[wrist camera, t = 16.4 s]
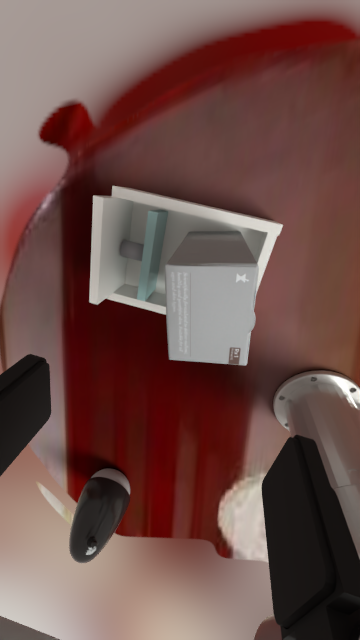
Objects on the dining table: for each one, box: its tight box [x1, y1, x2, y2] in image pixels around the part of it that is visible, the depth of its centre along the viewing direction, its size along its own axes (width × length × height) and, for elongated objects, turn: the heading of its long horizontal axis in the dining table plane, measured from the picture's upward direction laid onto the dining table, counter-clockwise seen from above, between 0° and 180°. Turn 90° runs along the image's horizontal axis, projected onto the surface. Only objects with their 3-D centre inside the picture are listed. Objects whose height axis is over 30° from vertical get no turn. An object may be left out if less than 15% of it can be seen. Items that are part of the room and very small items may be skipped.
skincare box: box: [165, 231, 259, 365], centre depth 25 cm, size 8×7×16 cm
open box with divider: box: [89, 186, 283, 315], centre depth 29 cm, size 18×13×9 cm
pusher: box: [120, 209, 168, 301], centre depth 30 cm, size 4×10×5 cm, turn 169°
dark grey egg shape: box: [69, 468, 130, 563], centre depth 50 cm, size 10×10×15 cm
